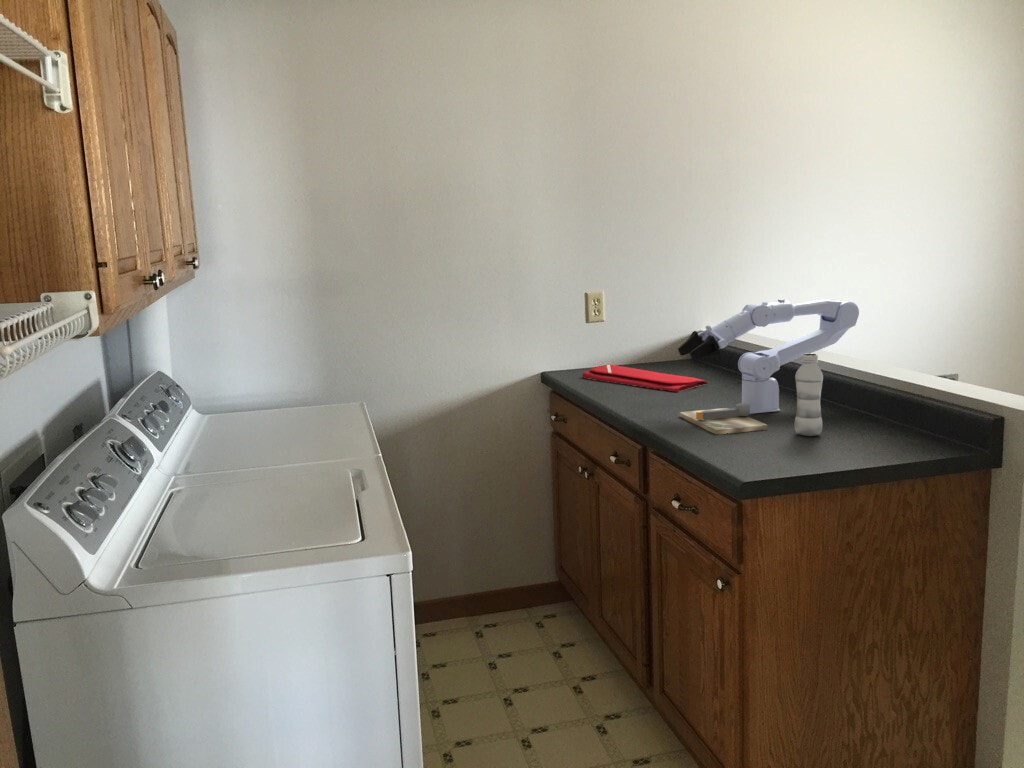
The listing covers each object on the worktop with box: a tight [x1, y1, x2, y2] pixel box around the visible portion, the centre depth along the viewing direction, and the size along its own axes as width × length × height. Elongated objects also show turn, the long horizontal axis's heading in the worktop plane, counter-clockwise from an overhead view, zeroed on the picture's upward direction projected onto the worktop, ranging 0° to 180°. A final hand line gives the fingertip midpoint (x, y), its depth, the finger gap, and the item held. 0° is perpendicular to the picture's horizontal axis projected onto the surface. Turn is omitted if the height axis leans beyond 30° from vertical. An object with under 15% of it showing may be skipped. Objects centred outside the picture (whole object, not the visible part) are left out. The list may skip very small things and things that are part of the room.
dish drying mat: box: [582, 363, 709, 393], centre depth 298 cm, size 16×41×4 cm, turn 42°
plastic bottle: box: [793, 353, 824, 437], centre depth 219 cm, size 6×7×20 cm
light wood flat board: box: [679, 407, 768, 435], centre depth 237 cm, size 15×23×1 cm, turn 14°
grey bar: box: [696, 402, 751, 420], centre depth 237 cm, size 15×4×3 cm, turn 104°
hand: (685, 354), depth 243 cm, fingers open, 7 cm apart
